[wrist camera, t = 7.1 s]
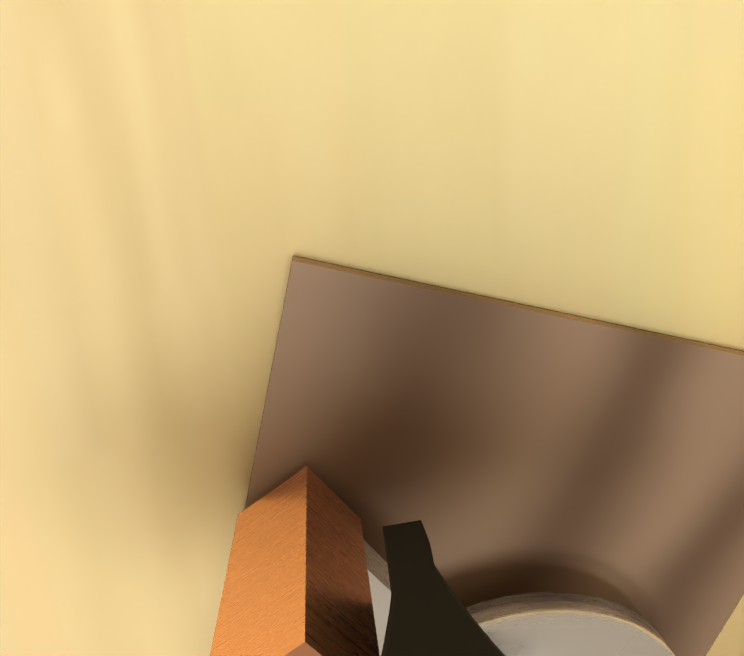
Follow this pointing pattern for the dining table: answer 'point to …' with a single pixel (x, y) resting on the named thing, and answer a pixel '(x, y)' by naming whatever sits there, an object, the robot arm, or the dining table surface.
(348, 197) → the dining table surface
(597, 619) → the metal lid
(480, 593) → the board
